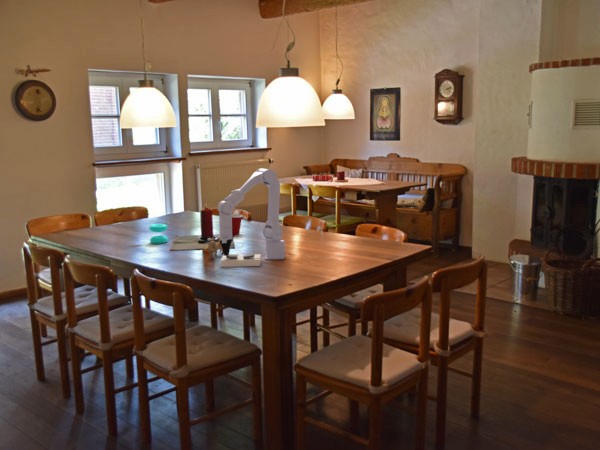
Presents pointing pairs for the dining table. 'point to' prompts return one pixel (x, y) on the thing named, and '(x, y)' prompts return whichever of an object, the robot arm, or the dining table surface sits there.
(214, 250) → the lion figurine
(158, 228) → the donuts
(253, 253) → the rocker
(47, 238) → the dining table surface
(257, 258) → the beige switch box
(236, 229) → the plastic cup
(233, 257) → the rocker
